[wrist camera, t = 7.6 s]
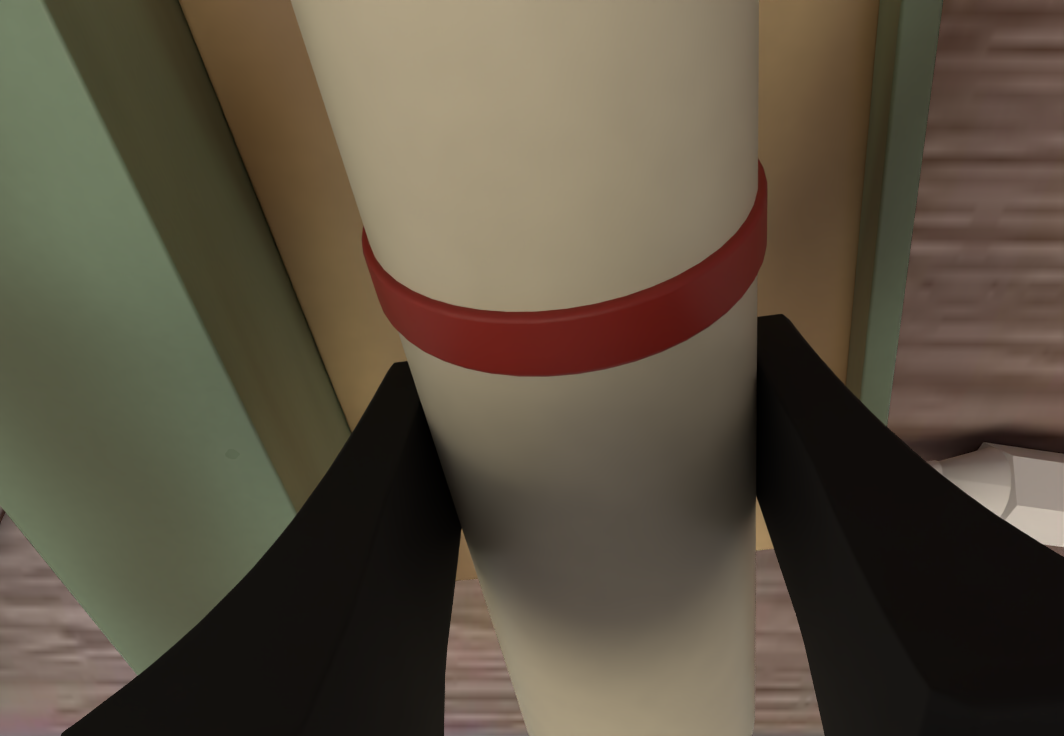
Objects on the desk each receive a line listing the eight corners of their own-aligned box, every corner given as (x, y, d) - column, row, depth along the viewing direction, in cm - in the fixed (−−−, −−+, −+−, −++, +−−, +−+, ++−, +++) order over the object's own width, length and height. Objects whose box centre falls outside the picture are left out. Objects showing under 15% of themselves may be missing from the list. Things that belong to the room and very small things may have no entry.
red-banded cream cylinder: (736, 590, 19) (785, 814, 16) (520, 612, 20) (522, 835, 16) (721, -254, 10) (839, -155, 6) (297, -175, 10) (180, -39, 7)
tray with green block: (909, -541, 12) (1152, -621, 7) (830, 466, 24) (901, 672, 19) (-220, -302, 13) (-608, -242, 9) (245, 530, 26) (184, 735, 21)
